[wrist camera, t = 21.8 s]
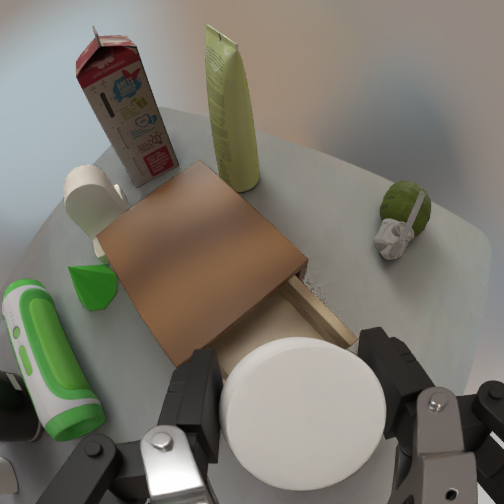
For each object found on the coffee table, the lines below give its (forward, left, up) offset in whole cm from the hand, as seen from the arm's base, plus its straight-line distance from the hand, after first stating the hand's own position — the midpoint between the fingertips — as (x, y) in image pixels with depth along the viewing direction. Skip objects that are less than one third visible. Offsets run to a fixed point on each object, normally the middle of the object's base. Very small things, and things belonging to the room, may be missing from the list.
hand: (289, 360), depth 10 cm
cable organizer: (-5, +26, -17) cm, 31 cm away
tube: (+12, +20, -17) cm, 29 cm away
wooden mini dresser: (+1, +12, -17) cm, 21 cm away
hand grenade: (+25, +3, -13) cm, 28 cm away
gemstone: (-10, +20, -17) cm, 28 cm away
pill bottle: (-1, -1, -5) cm, 6 cm away
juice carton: (+5, +32, -17) cm, 37 cm away
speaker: (-19, +15, -17) cm, 30 cm away
